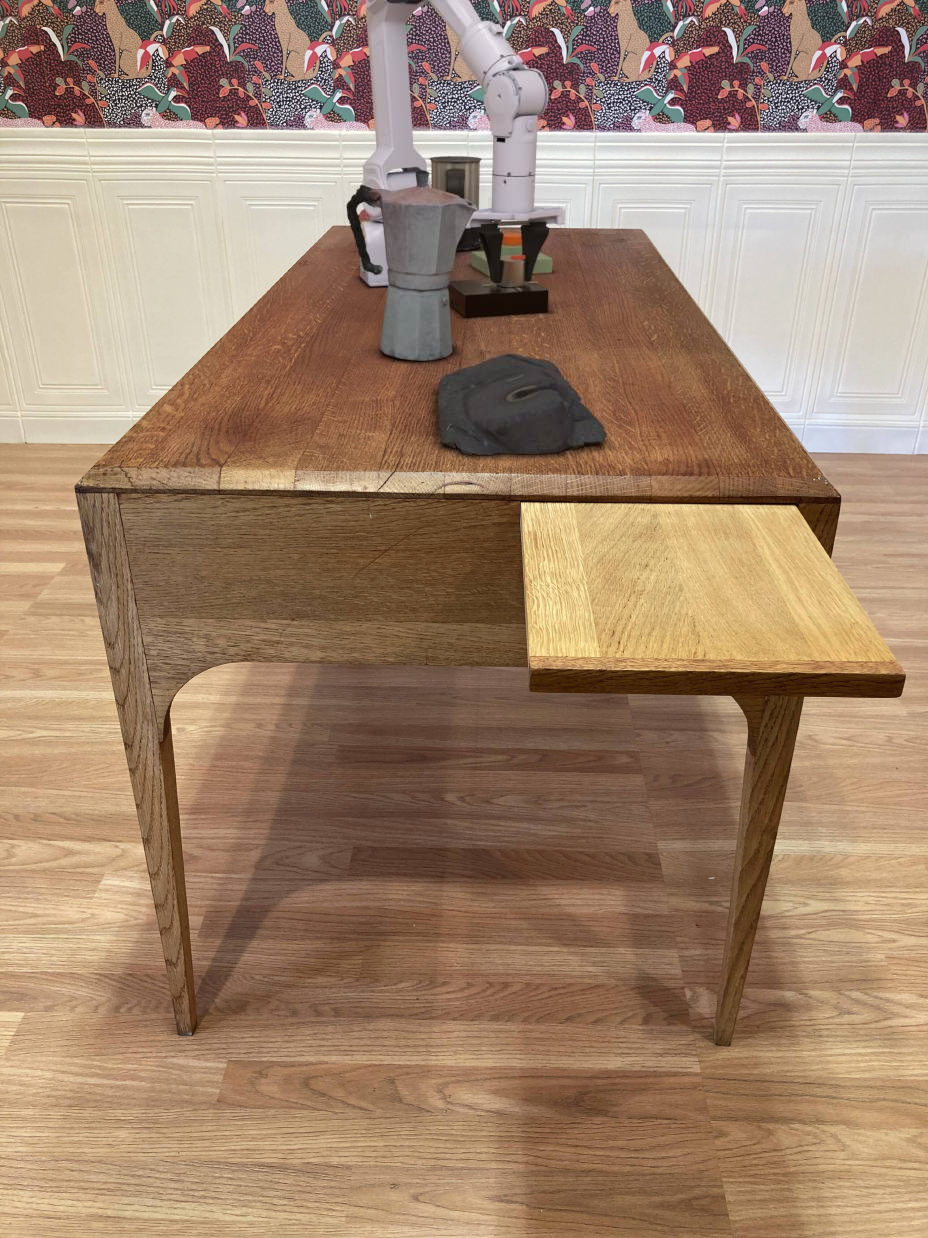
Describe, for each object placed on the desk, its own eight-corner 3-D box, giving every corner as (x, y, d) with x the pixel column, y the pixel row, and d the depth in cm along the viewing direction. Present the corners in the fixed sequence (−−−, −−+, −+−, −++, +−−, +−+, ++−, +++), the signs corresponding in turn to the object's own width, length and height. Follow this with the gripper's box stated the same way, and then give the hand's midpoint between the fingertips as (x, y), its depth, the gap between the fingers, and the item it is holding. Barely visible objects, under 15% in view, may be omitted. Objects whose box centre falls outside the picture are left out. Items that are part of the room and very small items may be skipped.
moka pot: (467, 367, 110) (470, 176, 100) (339, 358, 113) (328, 171, 103) (483, 345, 118) (486, 166, 108) (362, 337, 121) (354, 162, 111)
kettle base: (488, 276, 154) (488, 249, 152) (471, 265, 161) (471, 240, 159) (552, 272, 156) (553, 246, 154) (532, 262, 164) (533, 237, 162)
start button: (505, 248, 155) (505, 236, 154) (497, 244, 158) (498, 233, 157) (526, 247, 156) (526, 235, 155) (518, 243, 159) (519, 232, 158)
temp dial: (501, 287, 132) (502, 258, 130) (492, 282, 136) (493, 253, 134) (528, 286, 133) (530, 257, 131) (519, 280, 137) (520, 252, 135)
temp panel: (465, 317, 130) (465, 293, 129) (446, 302, 138) (446, 279, 136) (548, 312, 133) (549, 288, 132) (526, 297, 141) (526, 275, 139)
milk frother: (424, 243, 178) (423, 155, 170) (504, 239, 182) (506, 153, 175) (445, 257, 166) (445, 163, 159) (531, 253, 171) (534, 161, 163)
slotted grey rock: (571, 381, 106) (574, 337, 104) (611, 454, 87) (615, 403, 85) (432, 383, 105) (432, 339, 103) (442, 457, 86) (442, 405, 84)
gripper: (470, 179, 122) (469, 289, 129) (576, 176, 126) (569, 283, 133) (454, 172, 128) (454, 279, 135) (556, 170, 132) (550, 273, 139)
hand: (510, 280), depth 134 cm, fingers closed on temp dial, 4 cm apart
